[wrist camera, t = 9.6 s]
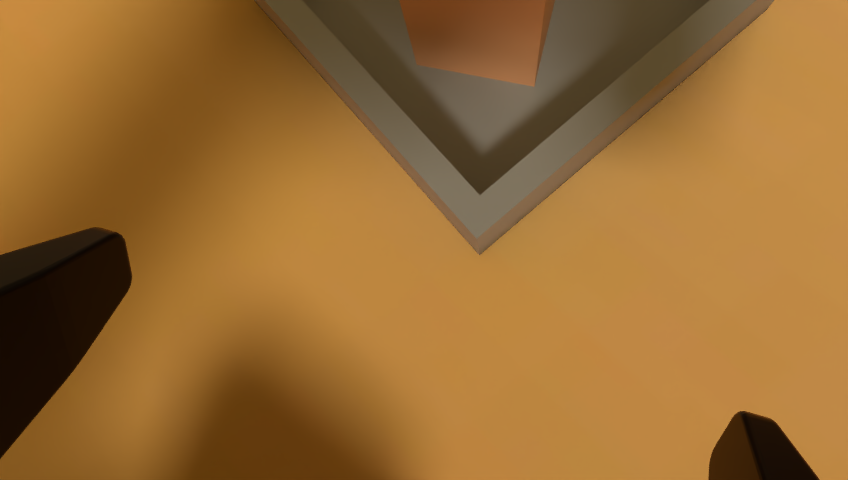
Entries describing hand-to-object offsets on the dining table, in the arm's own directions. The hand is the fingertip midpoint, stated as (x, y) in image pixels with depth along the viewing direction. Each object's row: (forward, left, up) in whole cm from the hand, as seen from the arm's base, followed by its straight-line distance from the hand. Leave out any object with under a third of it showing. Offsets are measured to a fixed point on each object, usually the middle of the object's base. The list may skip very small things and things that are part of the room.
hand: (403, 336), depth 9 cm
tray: (+10, +9, -14) cm, 19 cm away
